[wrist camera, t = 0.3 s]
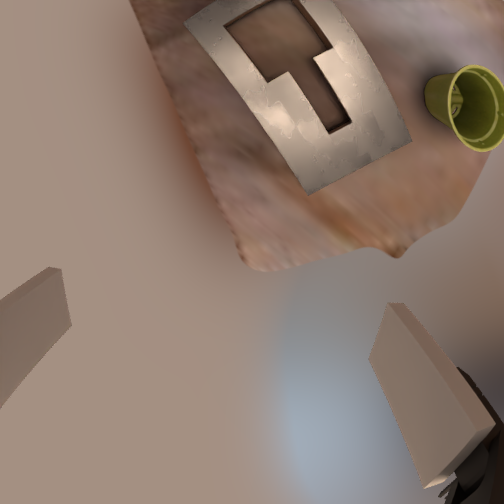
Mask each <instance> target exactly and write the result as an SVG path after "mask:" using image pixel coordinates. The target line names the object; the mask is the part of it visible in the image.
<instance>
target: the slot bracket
mask: <svg viewBox="0 0 504 504" xmlns="http://www.w3.org/2000/svg"><path fill="white" fill-rule="evenodd" d="M269 1H271V0H216V1H214V2H213V3H211V4H210V5H208V6H207V7H205V8H204V9H202V10H201V11H199V12H198V13H196V14H195V15H193V16H192V17H190V18H189V19H188V20H186V21H185V22H184V23H183V24H184V25H185V27H186V28H187V29H188V30H189V31H190V32H191V34H192V35H193V36H194V37H195V38H196V40H197V41H198V42H199V43H200V44H201V46H202V47H203V48H204V49H205V50H206V52H207V53H208V54H209V55H210V57H211V58H212V59H213V60H214V62H215V63H216V64H217V65H218V67H219V68H220V69H221V71H222V72H223V73H224V74H225V76H226V77H227V78H228V80H229V81H230V82H231V84H232V85H233V86H234V88H235V89H236V90H237V92H238V93H239V94H240V96H241V97H242V98H243V100H244V101H245V102H246V104H247V105H248V107H249V108H250V109H251V111H252V112H253V114H254V115H255V116H256V118H257V119H258V121H259V122H260V123H261V125H262V126H263V128H264V129H265V131H266V132H267V134H268V135H269V136H270V138H271V139H272V141H273V142H274V144H275V145H276V147H277V148H278V150H279V151H280V153H281V154H282V156H283V157H284V159H285V160H286V162H287V163H288V165H289V166H290V168H291V170H292V171H293V173H294V174H295V176H296V177H297V179H298V180H299V182H300V184H301V185H302V187H303V188H304V190H305V192H306V193H307V195H308V196H309V195H310V194H312V193H314V192H316V191H318V190H320V189H322V188H324V187H325V186H327V185H329V184H331V183H333V182H335V181H337V180H339V179H341V178H342V177H344V176H346V175H348V174H350V173H352V172H354V171H356V170H358V169H360V168H362V167H363V166H365V165H367V164H369V163H371V162H373V161H375V160H377V159H379V158H381V157H383V156H385V155H387V154H389V153H391V152H393V151H395V150H396V149H398V148H400V147H402V146H404V145H406V144H408V143H410V142H412V139H411V136H410V134H409V132H408V129H407V127H406V125H405V123H404V120H403V118H402V116H401V114H400V112H399V110H398V107H397V105H396V103H395V101H394V99H393V97H392V95H391V93H390V91H389V89H388V87H387V86H386V84H385V82H384V80H383V78H382V76H381V74H380V73H379V71H378V69H377V67H376V66H375V64H374V62H373V60H372V59H371V57H370V55H369V54H368V52H367V50H366V49H365V47H364V46H363V44H362V42H361V41H360V39H359V38H358V36H357V35H356V33H355V32H354V30H353V29H352V27H351V26H350V24H349V23H348V21H347V20H346V19H345V17H344V16H343V14H342V13H341V12H340V10H339V9H338V8H337V6H336V5H335V4H334V2H333V1H332V0H291V1H292V2H293V3H294V5H295V6H296V7H297V8H298V10H299V11H300V12H301V13H302V15H303V16H304V17H305V19H306V20H307V21H308V23H309V24H310V25H311V27H312V28H313V29H314V31H315V32H316V33H317V35H318V36H319V38H320V39H321V40H322V42H323V43H324V45H325V46H326V48H327V49H328V51H326V52H324V53H322V54H320V55H318V56H316V57H314V58H312V59H313V61H314V62H315V64H316V65H317V67H318V68H319V70H320V71H321V73H322V74H323V76H324V78H325V79H326V81H327V82H328V84H329V85H330V87H331V89H332V90H333V92H334V94H335V95H336V97H337V99H338V100H339V102H340V104H341V105H342V107H343V109H344V110H345V112H346V114H347V116H348V118H349V119H350V121H349V122H347V123H345V124H343V125H341V126H339V127H338V128H336V129H334V130H332V131H330V132H327V131H326V129H325V127H324V126H323V124H322V122H321V121H320V119H319V118H318V116H317V114H316V113H315V111H314V109H313V108H312V106H311V105H310V103H309V102H308V100H307V98H306V97H305V95H304V94H303V92H302V91H301V89H300V88H299V86H298V85H297V83H296V82H295V80H294V79H293V78H292V76H291V75H290V73H289V72H286V73H285V74H283V75H281V76H279V77H278V78H276V79H274V80H272V81H271V82H269V83H268V82H267V80H266V79H265V78H264V76H263V75H262V74H261V72H260V71H259V70H258V68H257V67H256V66H255V64H254V63H253V62H252V60H251V59H250V58H249V56H248V55H247V54H246V52H245V51H244V50H243V49H242V47H241V46H240V45H239V44H238V42H237V41H236V40H235V39H234V37H233V36H232V35H231V34H230V32H229V31H228V30H227V29H226V28H225V27H226V26H228V25H229V24H231V23H232V22H234V21H236V20H237V19H239V18H241V17H242V16H244V15H246V14H247V13H249V12H251V11H253V10H254V9H256V8H258V7H260V6H262V5H263V4H265V3H267V2H269Z"/></svg>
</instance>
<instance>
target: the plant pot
mask: <svg viewBox="0 0 504 504" xmlns="http://www.w3.org/2000/svg"><path fill="white" fill-rule="evenodd" d="M453 86H454V87H455V91H454V90H453ZM424 94H425V103H426V107H427V109H428V110H429V112H430V113H431V114H432V115H433V116H434V117H435V118H436V119H438V120H439V121H441V122H442V123H444V124H445V125H447V126H448V127H450V128H451V129H452V130H453V131H454V132H455V134H456V136H457V137H458V138H459V140H460V141H461V142H462V143H463V144H464V145H466V146H467V147H469V148H470V149H472V150H475V151H479V152H486V151H490V150H492V149H494V148H495V147H497V146H498V145H499V144H500V143H501V142H502V140H503V139H504V86H503V84H502V83H501V81H500V80H499V79H498V77H497V76H496V75H495V74H494V73H493V72H491V71H490V70H489V69H487V68H485V67H483V66H479V65H467V66H464V67H462V68H461V69H459V70H458V71H457V72H456V73H450V74H444V75H438V76H435V77H433V78H431V79H430V80H429V81H428V83H427V84H426V87H425V90H424ZM456 107H457V110H456V112H455V113H454V114H452V112H453V111H454V109H455V108H456Z"/></svg>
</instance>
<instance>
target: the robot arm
mask: <svg viewBox="0 0 504 504" xmlns="http://www.w3.org/2000/svg"><path fill="white" fill-rule="evenodd" d="M71 326H72V324H71V319H70V315H69V310H68V305H67V300H66V294H65V289H64V283H63V277H62V270H61V269H58V268H52V267H48V268H46V269H45V270H43V271H42V272H40V273H39V274H37V275H36V276H34V277H33V278H31V279H30V280H28V281H27V282H25V283H24V284H22V285H21V286H19V287H18V288H17V289H15V290H14V291H12V292H11V293H10V294H8V295H7V296H5V297H4V298H3V299H1V300H0V408H1V407H2V405H3V404H4V403H5V402H6V401H7V399H8V398H9V397H10V396H11V394H12V393H13V392H14V391H15V389H16V388H17V387H18V386H19V385H20V383H21V382H22V381H23V380H24V379H25V377H26V376H27V375H28V374H29V373H30V371H31V370H32V369H33V368H34V367H35V366H36V364H37V363H38V362H39V361H40V360H41V359H42V358H43V356H44V355H45V354H46V353H47V352H48V351H49V350H50V348H52V346H53V345H54V344H55V343H56V342H57V341H58V340H59V339H60V338H61V336H62V335H63V334H64V333H65V332H66V331H67V330H68V329H69V328H70V327H71ZM369 361H370V363H371V365H372V368H373V370H374V372H375V374H376V376H377V378H378V380H379V383H380V384H381V387H382V389H383V391H384V394H385V396H386V398H387V400H388V402H389V405H390V407H391V409H392V412H393V414H394V416H395V418H396V421H397V423H398V426H399V428H400V430H401V433H402V435H403V438H404V440H405V442H406V445H407V447H408V450H409V452H410V455H411V457H412V460H413V462H414V465H415V467H416V470H417V473H418V475H419V478H420V481H421V483H422V486H423V488H427V487H430V486H433V485H436V484H439V483H442V482H444V481H445V480H446V479H447V478H448V477H449V476H450V475H451V474H452V473H453V472H455V474H456V476H457V478H456V479H455V480H454V481H453V482H451V484H450V485H448V486H447V487H446V488H445V489H444V490H443V491H441V493H440V494H439V496H438V497H442V496H443V495H444V494H445V493H447V492H448V491H449V493H448V495H447V496H446V497H445V499H446V501H445V504H504V423H503V422H502V421H501V419H500V418H499V416H498V415H497V413H496V412H495V410H494V409H493V407H492V406H491V405H490V403H489V402H488V400H487V399H486V398H485V396H484V395H483V396H482V392H481V391H480V389H479V388H478V387H476V384H475V383H474V382H473V380H472V379H471V377H470V376H469V375H468V374H466V373H465V372H464V371H462V370H461V369H460V368H459V367H455V366H454V364H453V363H452V362H451V360H450V359H449V358H448V356H447V355H446V354H445V352H444V351H443V350H442V349H441V347H440V346H439V345H438V344H437V342H436V341H435V340H434V339H433V337H432V336H431V335H430V334H429V333H428V332H427V330H426V329H425V328H424V327H423V325H422V324H421V323H420V322H419V321H418V319H417V318H416V317H415V316H414V315H413V314H412V312H411V311H410V310H409V309H408V308H407V306H406V305H405V304H404V303H387V306H386V309H385V313H384V316H383V319H382V322H381V325H380V328H379V331H378V334H377V337H376V340H375V343H374V345H373V348H372V351H371V353H370V356H369Z"/></svg>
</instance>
